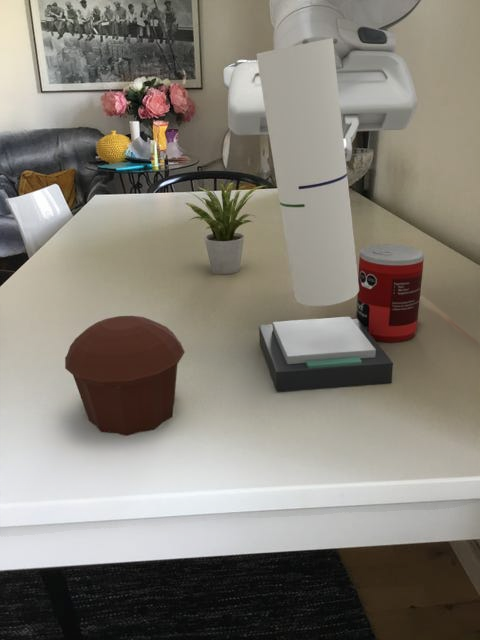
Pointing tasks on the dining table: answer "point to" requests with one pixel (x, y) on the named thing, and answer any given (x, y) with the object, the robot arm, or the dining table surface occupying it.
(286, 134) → the cylindrical container
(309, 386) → the kitchen scale
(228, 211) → the house plant
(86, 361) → the muffin
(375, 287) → the canned food
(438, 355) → the dining table surface
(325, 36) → the robot arm
